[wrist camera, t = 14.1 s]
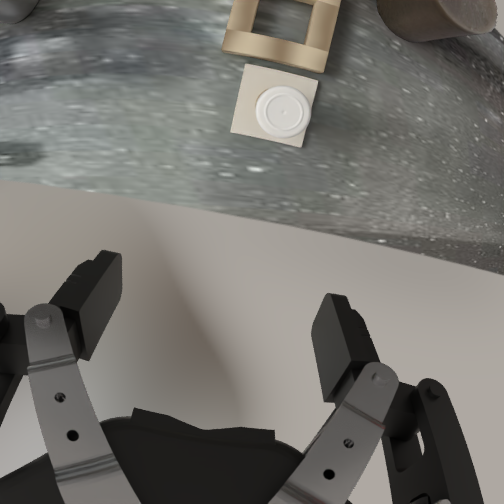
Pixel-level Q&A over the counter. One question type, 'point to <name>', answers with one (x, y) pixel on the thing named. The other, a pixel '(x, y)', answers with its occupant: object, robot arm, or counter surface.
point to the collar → (280, 50)
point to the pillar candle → (437, 18)
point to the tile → (253, 86)
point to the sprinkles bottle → (283, 111)
